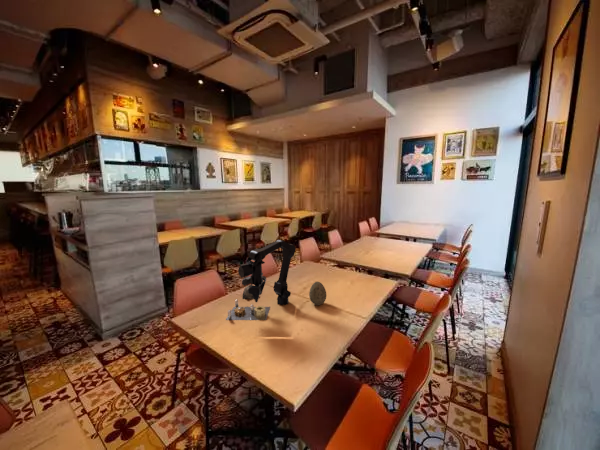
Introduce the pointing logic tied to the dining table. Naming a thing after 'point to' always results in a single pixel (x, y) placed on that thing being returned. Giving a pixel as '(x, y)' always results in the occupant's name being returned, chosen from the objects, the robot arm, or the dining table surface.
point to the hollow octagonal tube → (259, 311)
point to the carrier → (244, 313)
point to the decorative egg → (317, 293)
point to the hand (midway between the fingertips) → (258, 298)
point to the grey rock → (246, 294)
